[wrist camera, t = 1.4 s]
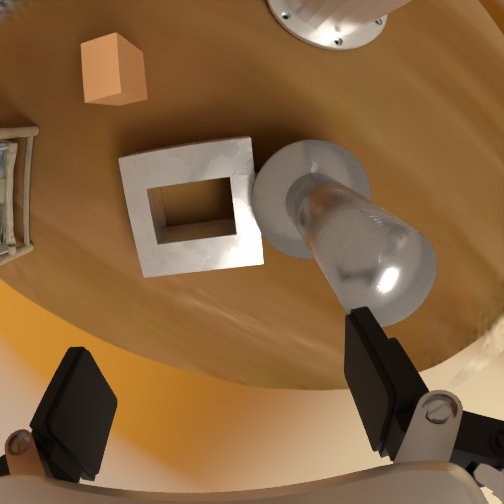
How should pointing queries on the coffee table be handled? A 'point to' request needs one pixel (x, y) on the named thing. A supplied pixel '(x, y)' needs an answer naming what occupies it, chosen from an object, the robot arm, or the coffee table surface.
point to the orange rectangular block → (113, 71)
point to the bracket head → (282, 220)
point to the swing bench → (3, 160)
